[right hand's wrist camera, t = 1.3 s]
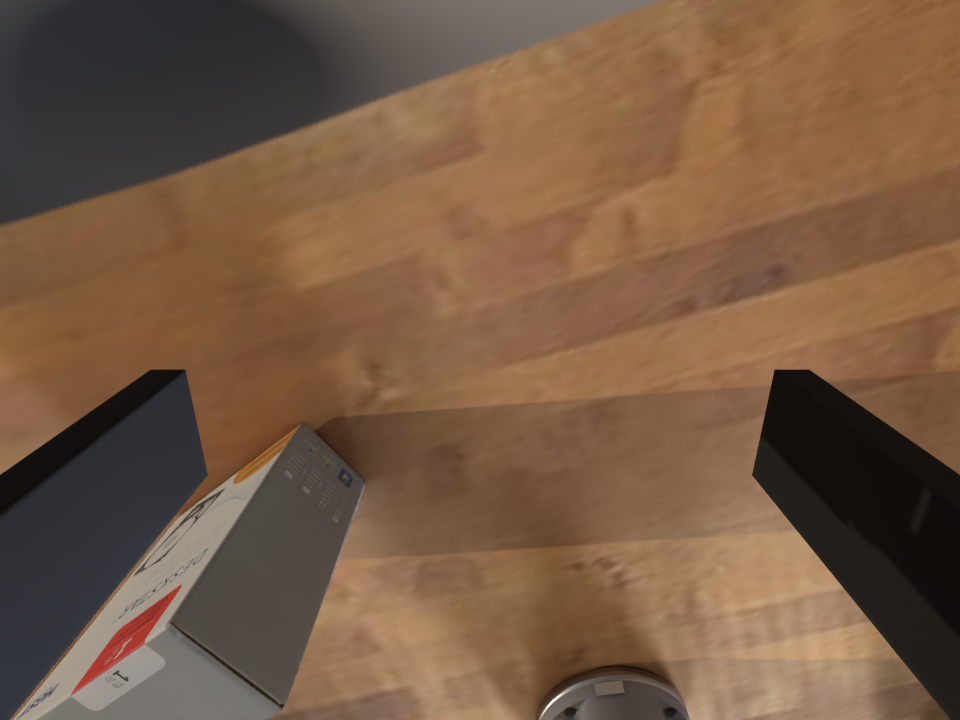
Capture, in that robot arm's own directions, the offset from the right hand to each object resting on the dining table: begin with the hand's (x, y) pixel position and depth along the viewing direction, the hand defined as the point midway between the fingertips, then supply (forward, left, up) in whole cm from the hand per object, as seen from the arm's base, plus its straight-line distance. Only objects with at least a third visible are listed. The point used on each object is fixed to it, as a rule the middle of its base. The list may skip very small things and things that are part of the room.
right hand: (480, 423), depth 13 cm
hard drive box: (-22, +18, -28) cm, 40 cm away
